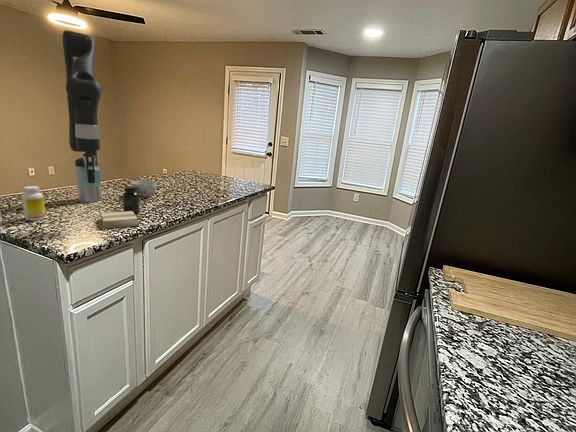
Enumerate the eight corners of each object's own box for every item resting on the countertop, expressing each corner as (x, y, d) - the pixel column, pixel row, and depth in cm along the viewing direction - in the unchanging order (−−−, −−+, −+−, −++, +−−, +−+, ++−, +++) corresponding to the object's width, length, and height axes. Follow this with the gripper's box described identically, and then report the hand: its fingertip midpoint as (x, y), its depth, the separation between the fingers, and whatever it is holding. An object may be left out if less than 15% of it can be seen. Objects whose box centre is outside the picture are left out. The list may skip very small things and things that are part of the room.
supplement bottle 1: (50, 218, 126) (46, 187, 123) (32, 222, 120) (28, 189, 117) (38, 215, 128) (34, 184, 125) (20, 219, 122) (15, 187, 118)
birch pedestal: (101, 219, 131) (100, 212, 130) (132, 217, 137) (132, 210, 137) (104, 228, 121) (103, 221, 121) (137, 225, 128) (137, 218, 127)
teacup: (127, 195, 171) (126, 181, 169) (146, 192, 182) (146, 179, 180) (145, 200, 165) (144, 186, 163) (164, 197, 175) (164, 183, 173)
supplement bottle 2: (143, 212, 146) (142, 187, 143) (130, 215, 140) (129, 189, 137) (132, 209, 149) (131, 184, 145) (120, 212, 143) (118, 186, 139)
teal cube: (81, 182, 121) (80, 167, 120) (99, 182, 125) (98, 167, 123) (82, 185, 117) (80, 170, 115) (100, 185, 120) (99, 170, 118)
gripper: (75, 134, 119) (79, 177, 124) (75, 137, 108) (79, 185, 113) (98, 136, 123) (101, 177, 128) (100, 139, 112) (103, 184, 117)
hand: (91, 181), depth 120 cm, fingers closed on teal cube, 6 cm apart
